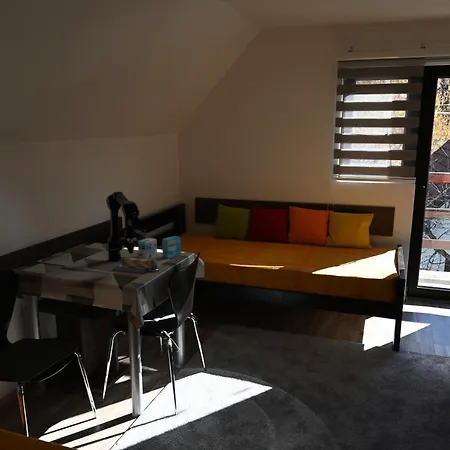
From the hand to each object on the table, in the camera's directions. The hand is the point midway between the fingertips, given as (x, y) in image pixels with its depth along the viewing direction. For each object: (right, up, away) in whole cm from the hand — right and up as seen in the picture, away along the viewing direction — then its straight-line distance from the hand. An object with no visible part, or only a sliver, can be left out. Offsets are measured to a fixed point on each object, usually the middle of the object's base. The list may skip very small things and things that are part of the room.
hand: (131, 253), depth 265 cm
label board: (-1, -9, +10) cm, 13 cm away
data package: (+18, -4, +36) cm, 40 cm away
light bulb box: (+4, -4, +35) cm, 35 cm away
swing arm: (+3, -8, +8) cm, 12 cm away
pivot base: (+12, -10, +6) cm, 16 cm away
